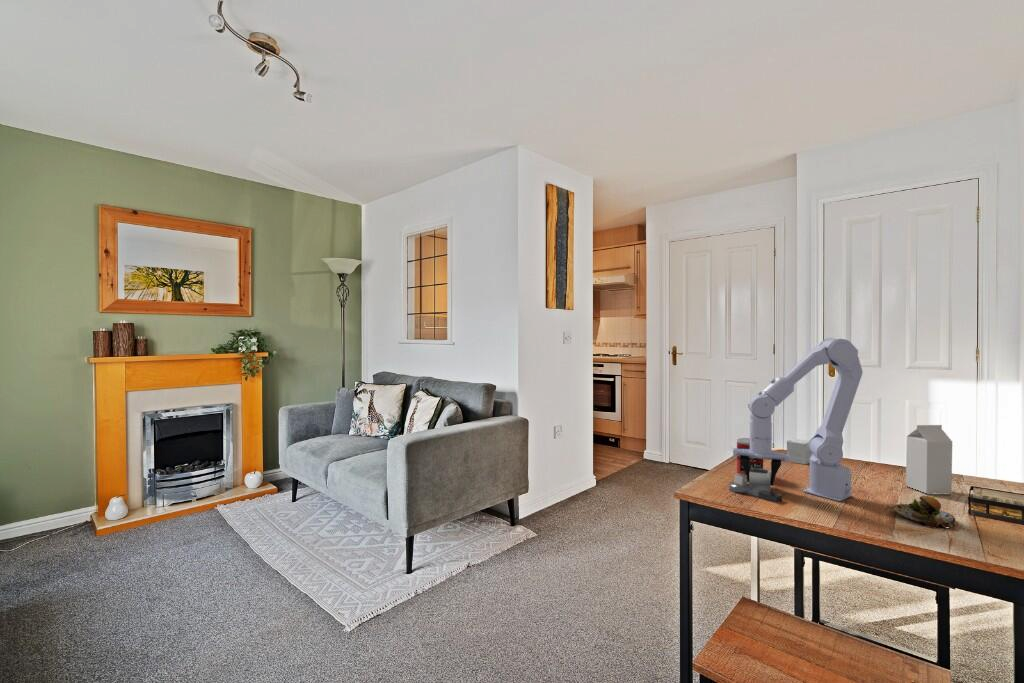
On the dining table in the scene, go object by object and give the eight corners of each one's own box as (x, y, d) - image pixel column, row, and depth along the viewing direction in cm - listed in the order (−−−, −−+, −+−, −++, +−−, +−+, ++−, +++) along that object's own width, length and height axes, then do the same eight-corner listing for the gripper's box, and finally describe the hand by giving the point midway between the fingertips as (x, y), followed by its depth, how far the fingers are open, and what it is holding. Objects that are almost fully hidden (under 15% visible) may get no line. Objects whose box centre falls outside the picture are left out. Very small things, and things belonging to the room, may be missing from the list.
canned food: (738, 477, 151) (739, 442, 150) (734, 470, 158) (735, 437, 158) (765, 479, 148) (766, 444, 148) (760, 472, 156) (760, 438, 156)
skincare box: (811, 461, 168) (811, 441, 168) (805, 464, 164) (805, 443, 164) (792, 458, 173) (793, 438, 172) (786, 461, 169) (786, 440, 169)
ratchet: (724, 489, 139) (725, 474, 139) (736, 485, 142) (736, 470, 142) (773, 504, 127) (774, 486, 127) (785, 499, 131) (785, 482, 131)
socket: (770, 486, 142) (771, 469, 141) (770, 492, 137) (770, 474, 137) (750, 483, 144) (750, 467, 144) (749, 488, 140) (749, 471, 139)
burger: (892, 507, 126) (893, 479, 126) (953, 518, 118) (954, 488, 118) (892, 521, 116) (892, 491, 116) (957, 534, 109) (958, 502, 109)
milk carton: (951, 494, 134) (953, 427, 134) (926, 495, 134) (927, 427, 134) (929, 486, 141) (930, 422, 141) (905, 486, 141) (906, 422, 141)
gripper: (732, 437, 140) (731, 482, 141) (789, 442, 133) (788, 491, 133) (734, 432, 146) (734, 476, 147) (789, 437, 139) (788, 484, 139)
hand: (760, 483), depth 141 cm, fingers closed on socket, 5 cm apart
